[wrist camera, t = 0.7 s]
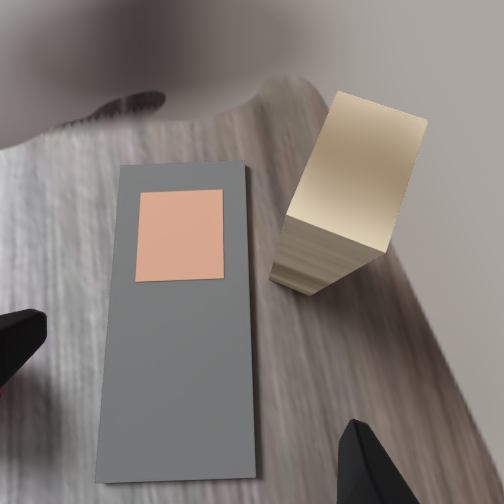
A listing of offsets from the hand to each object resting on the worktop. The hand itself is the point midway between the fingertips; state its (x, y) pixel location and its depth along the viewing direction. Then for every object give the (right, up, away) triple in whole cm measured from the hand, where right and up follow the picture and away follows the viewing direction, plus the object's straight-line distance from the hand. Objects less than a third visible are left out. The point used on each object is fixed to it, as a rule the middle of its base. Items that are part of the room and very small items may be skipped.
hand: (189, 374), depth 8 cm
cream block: (+5, +3, +14) cm, 15 cm away
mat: (-3, 0, +13) cm, 14 cm away
